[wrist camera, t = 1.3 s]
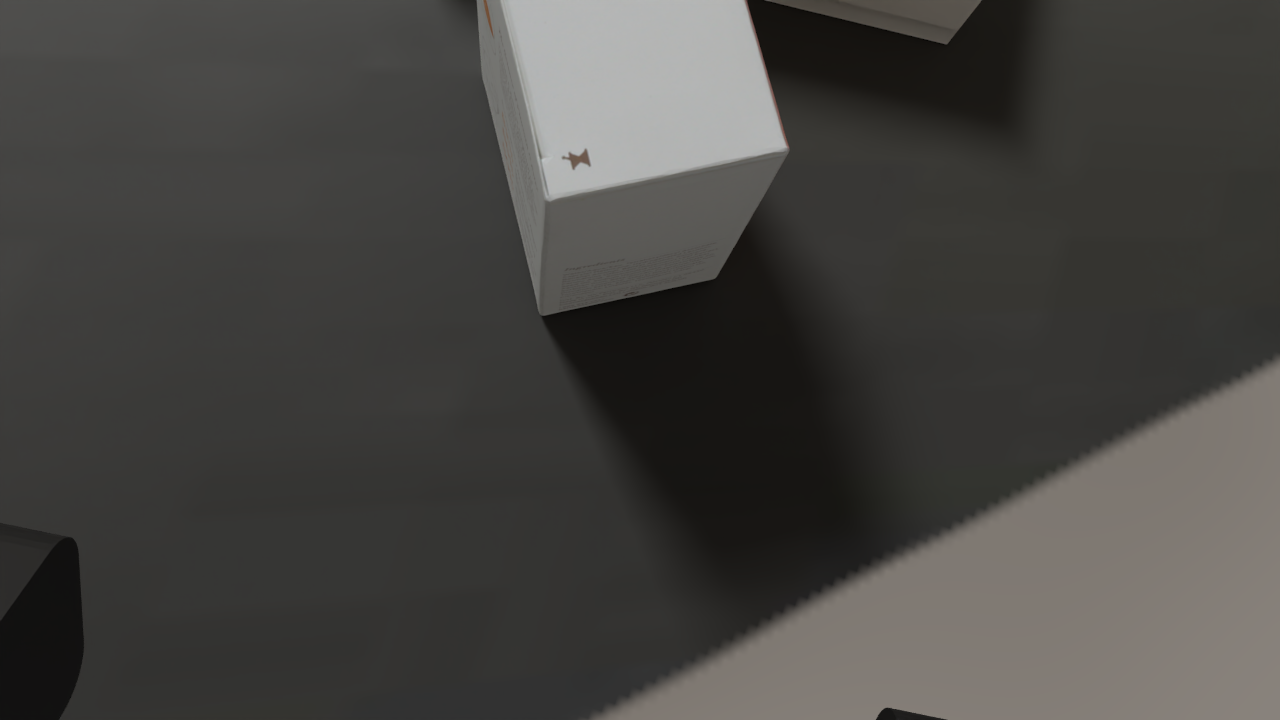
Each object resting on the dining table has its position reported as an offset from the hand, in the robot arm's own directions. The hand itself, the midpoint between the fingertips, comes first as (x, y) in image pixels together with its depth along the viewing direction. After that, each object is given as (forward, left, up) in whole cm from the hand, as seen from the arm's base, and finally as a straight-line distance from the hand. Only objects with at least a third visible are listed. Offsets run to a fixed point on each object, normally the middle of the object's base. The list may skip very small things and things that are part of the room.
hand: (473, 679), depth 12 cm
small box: (0, +14, -23) cm, 26 cm away
